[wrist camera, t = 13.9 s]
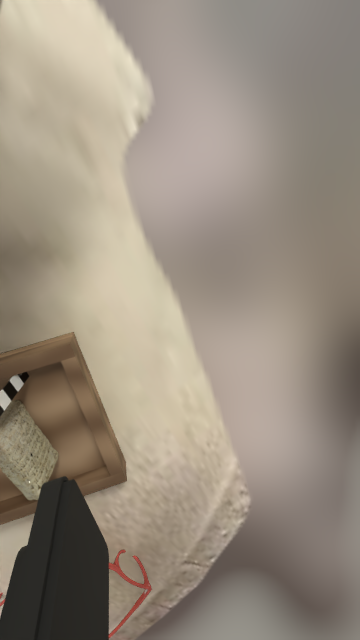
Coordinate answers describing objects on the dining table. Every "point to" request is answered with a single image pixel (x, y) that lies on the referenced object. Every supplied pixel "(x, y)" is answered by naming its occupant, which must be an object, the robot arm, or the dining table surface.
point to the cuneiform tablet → (23, 443)
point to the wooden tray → (62, 420)
